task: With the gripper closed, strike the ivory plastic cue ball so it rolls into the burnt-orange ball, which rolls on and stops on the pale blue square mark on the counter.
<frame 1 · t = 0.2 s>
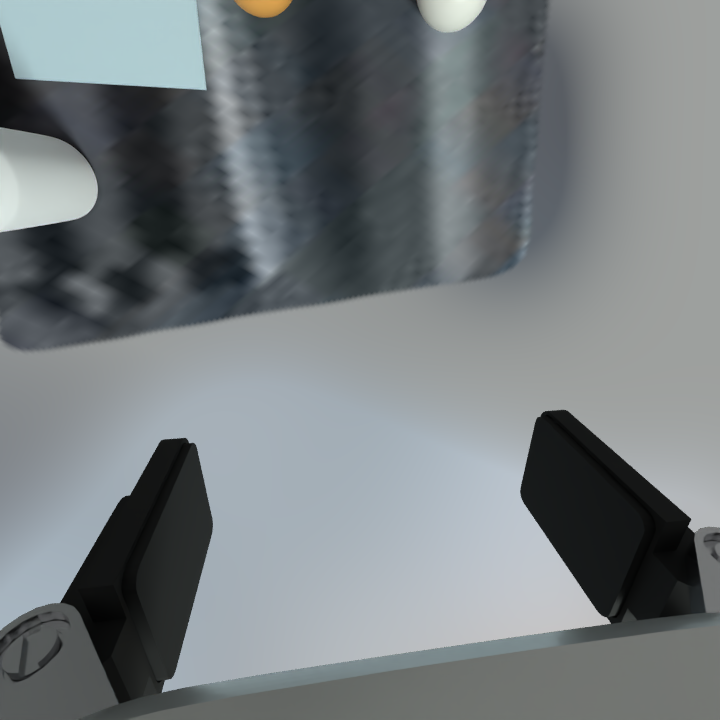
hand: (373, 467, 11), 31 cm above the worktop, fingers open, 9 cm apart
can: (59, 179, 33), on the worktop
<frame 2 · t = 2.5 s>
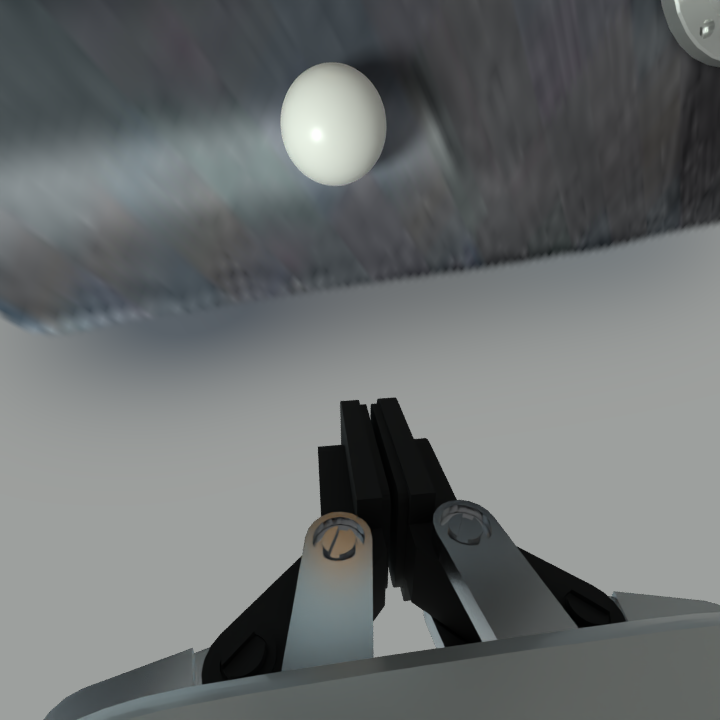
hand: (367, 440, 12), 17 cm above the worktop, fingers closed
cue ball: (334, 128, 20), on the worktop
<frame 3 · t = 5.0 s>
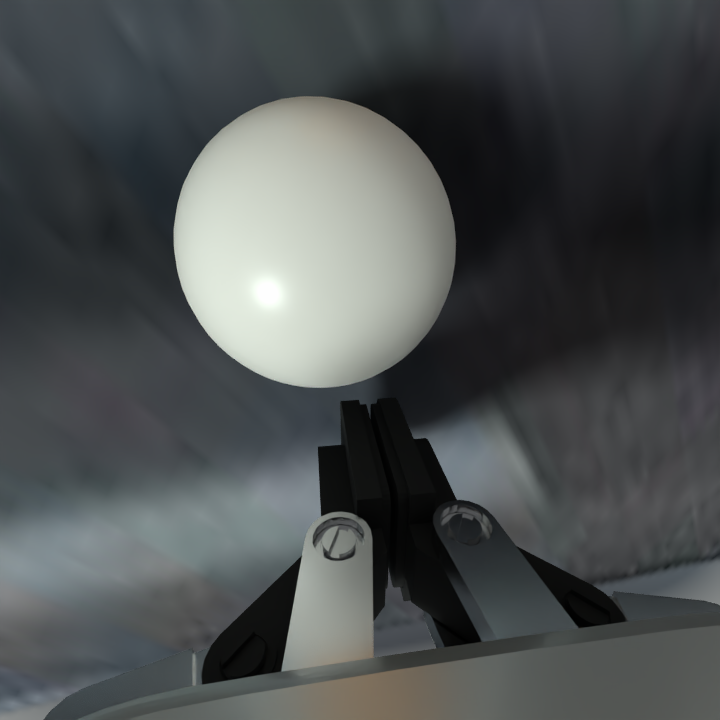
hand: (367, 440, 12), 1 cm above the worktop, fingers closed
cue ball: (320, 255, 8), on the worktop
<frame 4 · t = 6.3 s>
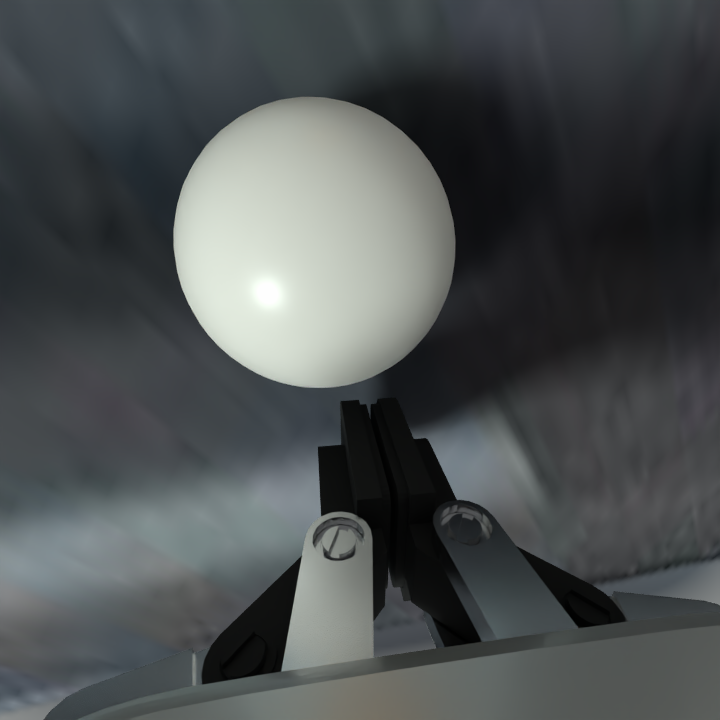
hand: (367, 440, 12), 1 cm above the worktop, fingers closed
cue ball: (319, 255, 8), on the worktop
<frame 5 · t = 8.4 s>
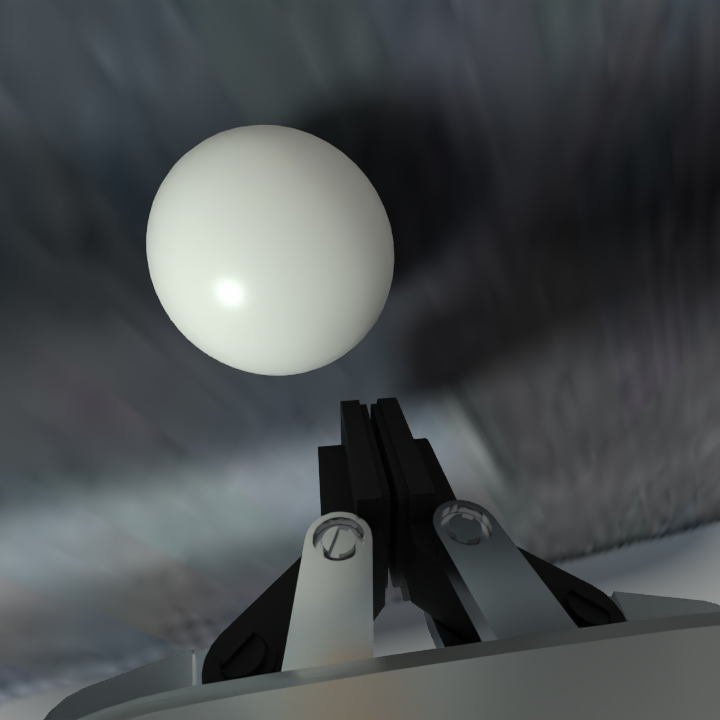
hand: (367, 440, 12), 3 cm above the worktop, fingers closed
cue ball: (278, 259, 9), on the worktop
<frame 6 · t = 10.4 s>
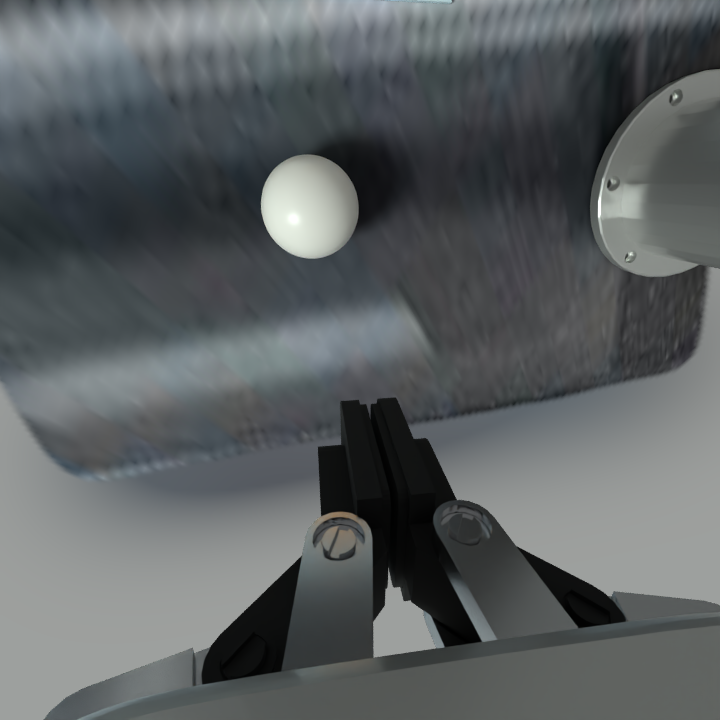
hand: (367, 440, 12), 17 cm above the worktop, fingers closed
cue ball: (310, 208, 22), on the worktop
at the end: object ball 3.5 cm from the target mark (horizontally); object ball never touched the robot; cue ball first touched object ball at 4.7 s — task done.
